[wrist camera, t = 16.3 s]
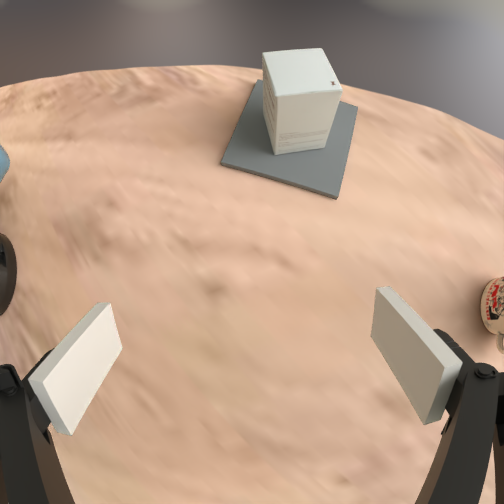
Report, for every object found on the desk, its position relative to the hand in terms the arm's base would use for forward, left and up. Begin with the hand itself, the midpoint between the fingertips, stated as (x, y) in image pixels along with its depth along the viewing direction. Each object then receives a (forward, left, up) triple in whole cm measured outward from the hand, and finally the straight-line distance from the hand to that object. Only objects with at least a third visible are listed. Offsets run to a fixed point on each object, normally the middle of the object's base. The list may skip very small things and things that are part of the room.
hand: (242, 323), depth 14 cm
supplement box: (-3, +26, -22) cm, 34 cm away
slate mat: (-3, +26, -23) cm, 35 cm away
